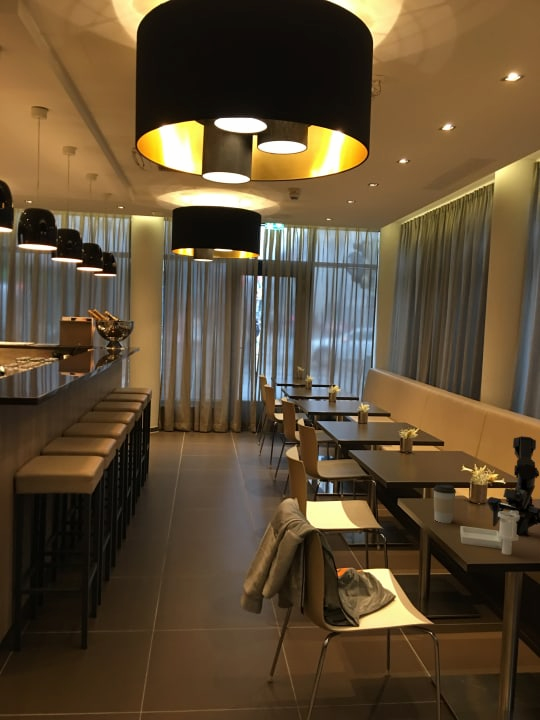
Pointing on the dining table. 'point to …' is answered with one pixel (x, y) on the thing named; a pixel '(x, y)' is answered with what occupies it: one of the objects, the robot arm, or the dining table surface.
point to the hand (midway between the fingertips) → (506, 529)
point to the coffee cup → (444, 502)
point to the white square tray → (480, 537)
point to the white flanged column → (508, 529)
